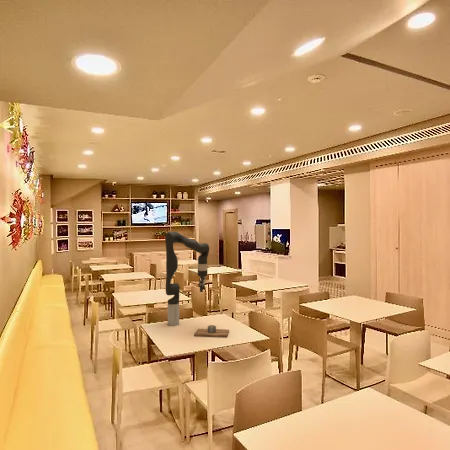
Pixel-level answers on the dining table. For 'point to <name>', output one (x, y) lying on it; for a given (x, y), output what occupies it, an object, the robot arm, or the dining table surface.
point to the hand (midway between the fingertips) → (202, 290)
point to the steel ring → (212, 329)
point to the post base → (205, 333)
